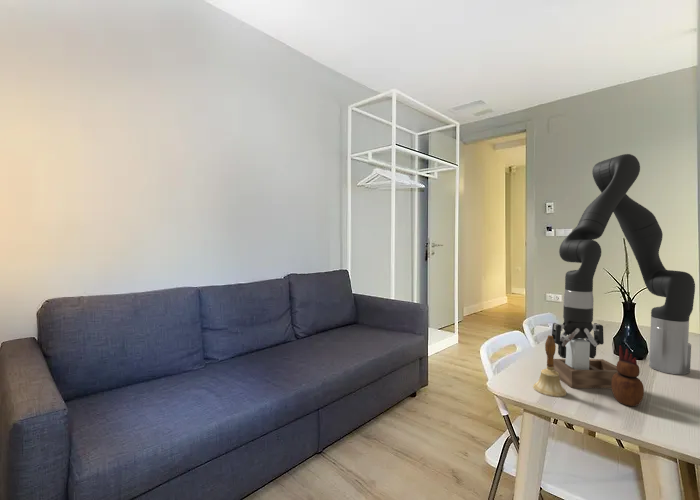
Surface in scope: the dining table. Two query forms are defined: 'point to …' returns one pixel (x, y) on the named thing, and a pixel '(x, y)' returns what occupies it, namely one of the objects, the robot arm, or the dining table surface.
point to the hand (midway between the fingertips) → (576, 357)
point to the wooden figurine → (627, 380)
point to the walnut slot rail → (586, 374)
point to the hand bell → (550, 374)
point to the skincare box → (578, 354)
